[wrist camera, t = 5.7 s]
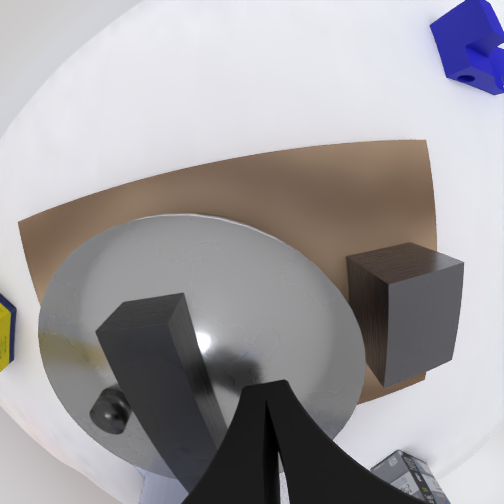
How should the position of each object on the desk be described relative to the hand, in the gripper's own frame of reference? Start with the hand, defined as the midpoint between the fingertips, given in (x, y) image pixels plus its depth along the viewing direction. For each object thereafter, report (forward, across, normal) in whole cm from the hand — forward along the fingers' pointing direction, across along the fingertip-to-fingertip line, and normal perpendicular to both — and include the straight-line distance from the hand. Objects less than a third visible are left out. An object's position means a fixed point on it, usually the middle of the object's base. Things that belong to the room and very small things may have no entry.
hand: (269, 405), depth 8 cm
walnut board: (+7, +1, 0) cm, 7 cm away
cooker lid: (+2, +3, 0) cm, 3 cm away
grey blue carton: (+8, -12, +23) cm, 27 cm away
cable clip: (+8, -22, -14) cm, 27 cm away
